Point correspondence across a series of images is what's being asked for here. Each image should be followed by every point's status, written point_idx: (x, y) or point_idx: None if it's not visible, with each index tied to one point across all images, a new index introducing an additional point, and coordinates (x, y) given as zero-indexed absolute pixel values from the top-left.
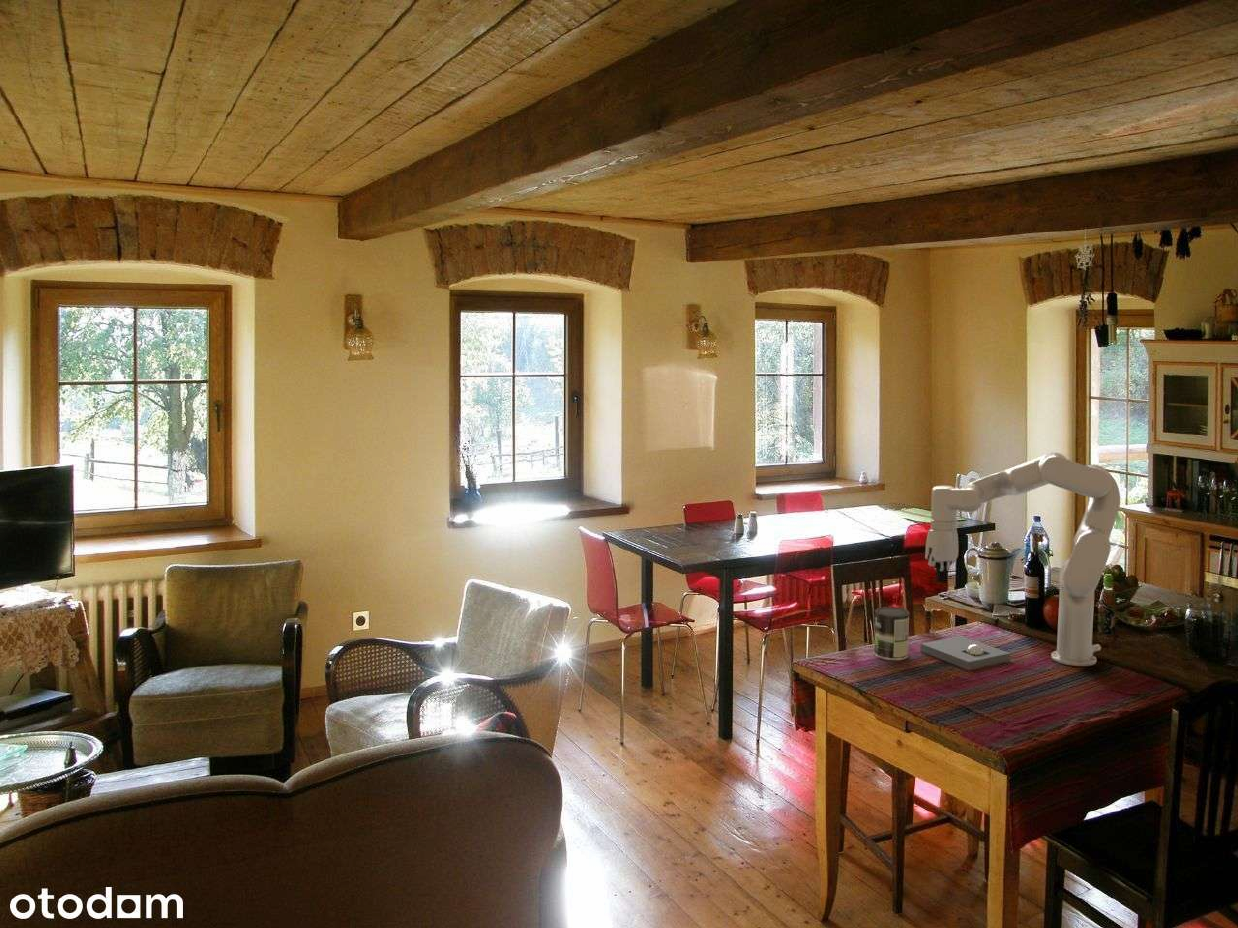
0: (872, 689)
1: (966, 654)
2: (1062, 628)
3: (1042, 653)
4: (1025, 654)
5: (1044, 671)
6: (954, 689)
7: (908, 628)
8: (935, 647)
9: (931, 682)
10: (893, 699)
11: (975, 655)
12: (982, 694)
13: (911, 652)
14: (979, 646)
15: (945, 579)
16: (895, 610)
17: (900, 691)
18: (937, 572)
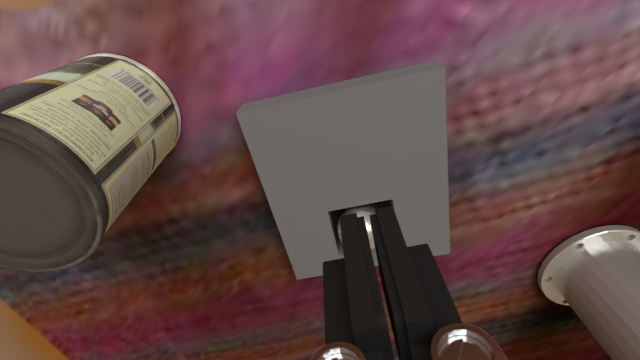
0: (25, 305)
1: (326, 236)
2: (615, 347)
3: (574, 211)
4: (526, 207)
5: (457, 300)
6: (208, 332)
7: (131, 198)
8: (269, 163)
9: (174, 300)
10: (66, 345)
11: None
12: (250, 355)
13: (204, 106)
14: (372, 250)
15: (387, 306)
16: (24, 185)
17: (89, 322)
18: (328, 338)
